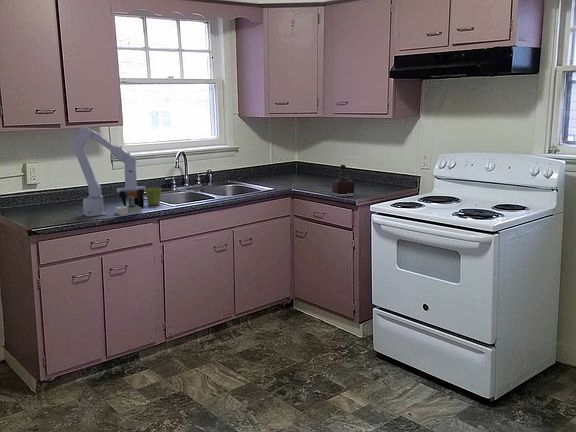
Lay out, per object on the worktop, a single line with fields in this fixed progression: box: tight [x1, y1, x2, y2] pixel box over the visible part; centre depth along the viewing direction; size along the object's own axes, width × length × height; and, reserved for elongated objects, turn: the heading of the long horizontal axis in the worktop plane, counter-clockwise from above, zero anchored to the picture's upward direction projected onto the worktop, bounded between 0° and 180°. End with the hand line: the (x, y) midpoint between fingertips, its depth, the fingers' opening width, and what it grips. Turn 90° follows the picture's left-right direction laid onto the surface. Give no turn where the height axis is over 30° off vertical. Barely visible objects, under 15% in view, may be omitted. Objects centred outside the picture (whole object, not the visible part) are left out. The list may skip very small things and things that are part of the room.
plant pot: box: [144, 187, 163, 206], centre depth 324 cm, size 9×9×9 cm
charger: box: [114, 205, 143, 216], centre depth 301 cm, size 11×8×3 cm
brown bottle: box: [331, 164, 355, 194], centre depth 355 cm, size 16×11×18 cm
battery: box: [128, 191, 145, 209], centre depth 315 cm, size 4×7×10 cm, turn 119°
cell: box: [128, 197, 135, 208], centre depth 301 cm, size 3×3×8 cm
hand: (132, 205), depth 302 cm, fingers open, 7 cm apart
